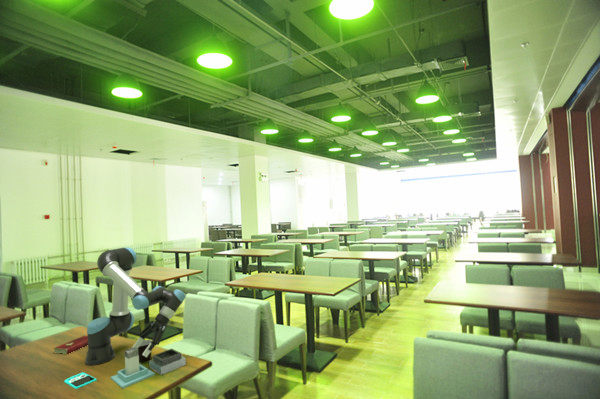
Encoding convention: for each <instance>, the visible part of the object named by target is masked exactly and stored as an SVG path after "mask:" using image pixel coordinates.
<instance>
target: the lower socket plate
mask: <svg viewBox="0 0 600 399" xmlns="http://www.w3.org/2000/svg"><path fill="white" fill-rule="evenodd" d="M154 376H156V372H155V371H153V370H152V369H150V368H147V366H145V365H143V364H142V363H139V372H137V373H134V374H132V375H129V376H126V369H125V368H122V369H120V370H117V374H115V375H112V376H110V380H111V381H112V382H114V383H115V384H116V385H117V386H119V387H120V388H121V389H125V388H127V387H130V386H131V385H134V384H137V383H139V382H143V381H144V380H147V379H149V378H152V377H154Z"/></svg>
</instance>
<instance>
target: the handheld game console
mask: <svg viewBox="0 0 600 399" xmlns="http://www.w3.org/2000/svg"><path fill="white" fill-rule="evenodd" d="M97 380H98V379H97V378H96V377H94V376H92V375H90V374H87V373H86V372H84V371H83V372H80V373H78V374H75V375H72V376H70V377H68V378H66V379H65V380H64V384H66V385H68V386H69V387H72V388H73V389H74V390H78V389H80V388H82V387H85V386H87V385H90V384H92V383H95V382H96V381H97Z"/></svg>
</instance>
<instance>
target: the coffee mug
mask: <svg viewBox="0 0 600 399" xmlns="http://www.w3.org/2000/svg"><path fill="white" fill-rule="evenodd" d="M151 341H152V340H151V339H144V340H143V342H142V343H141V345H140V346H139V347H138V354H139V364H143V363H149V360H152V351H151V352H150V353H149V355H148V356H147V357H145V356H143V355H142V354H143V353H144V351H145V350H146V348H147V347H148V345H149V344H150V343H151Z"/></svg>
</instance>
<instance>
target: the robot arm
mask: <svg viewBox="0 0 600 399" xmlns="http://www.w3.org/2000/svg"><path fill="white" fill-rule="evenodd" d="M137 258H138V256H137V253H136V251H135V250H134V249H133V248H131V247H129V246H128V247H119V248H114V249H107V250H105V251H103V252H101V253H100V254H99V256H98V257H97V262H96V264H97V268H98V270H99V272H100V273H101V274H102V275H103V276H107V277H108V278H109V279H110V280H112V282H113V285H112V286H113V287H112V288H113V289H112V309H111V310H110V311H109V314H108V315H109V316H102V317H98V318H95V319H93V320H91V321H90V322H89V323H88V324H87V328H86V333H87V335H86V336H88V346H87V348H88V350H87V351H86V356H85V360H84V361H85V364H86V365H87V366H97V365H101V364H104V363H108V362H110V361H111V360H113V359H114V358H115V357H116V353H115V352H116V351H115V350H114V348H113V345H112V341H111V340H112V339H111V338H113V337H115V336H118V335H120V334H124V333H126V332H127V331H129V330H131V328H132V327H133V325H134V323H135V317H134V315H133V313H132V312H131V310H130V309H129V308H128V307H129V298H131V299H132V301H131V302H132V306H133V308H134V309H135V310H138V311H139V310H143V309H144V310H145V309H147V308H150V307H151V306H154V305H156V304H160V303H163V307H162V308H161V309H160V310H159V312H158V313H157V315H155V318H154V321H153V320H152V321H151V322H149V324H148V325H147V326H146V327H145V328H144V329H143V330H141V331H140V332H139V337H138V339H137V340H136V341H135V343H134V344H133V346H132V347H131V348H134V347H135V348H136V349H138V347H139V346H140V345H141V343H142V342H143V341H144V340H146V337H148V336H149V335H151V334H152V333H153V336H152V340H151V343H150V344H149V345H148V347H147V348H146V350H145V351H144V353H143V354H142V355H143V356H145V357H147V356H148V355H149V353H150V352H151V353H152V350H153V349H154V347H155V346H156V345H157V346H159V345H160V342H161V340H162V338H163V335H164V332H165V331H166V329H167V327H166V326H167V325H168V324H169V323H170V321H171V319H172V318H173V317H174V316H175V313H176V312H177V310H179V308H180V307H181V305H182V304H183V302H184V300H185V299H186V296H187V295H186V293H185V292H183V291H182V290H180V289H178V288H177V289H174V290H173V291H172V290H169V289H168V288H166V287H165V286H161V285H157V286H155V287H154V288H152V291H149V292H148V291H146V290H145V289H144V288H143V287H142V286H141V285H140V284H139V283H137V281H135V279H133V278H132V276H130V272H131V271H132V270H133V266H134V265H135V264H136V262H137V260H138V259H137Z"/></svg>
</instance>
